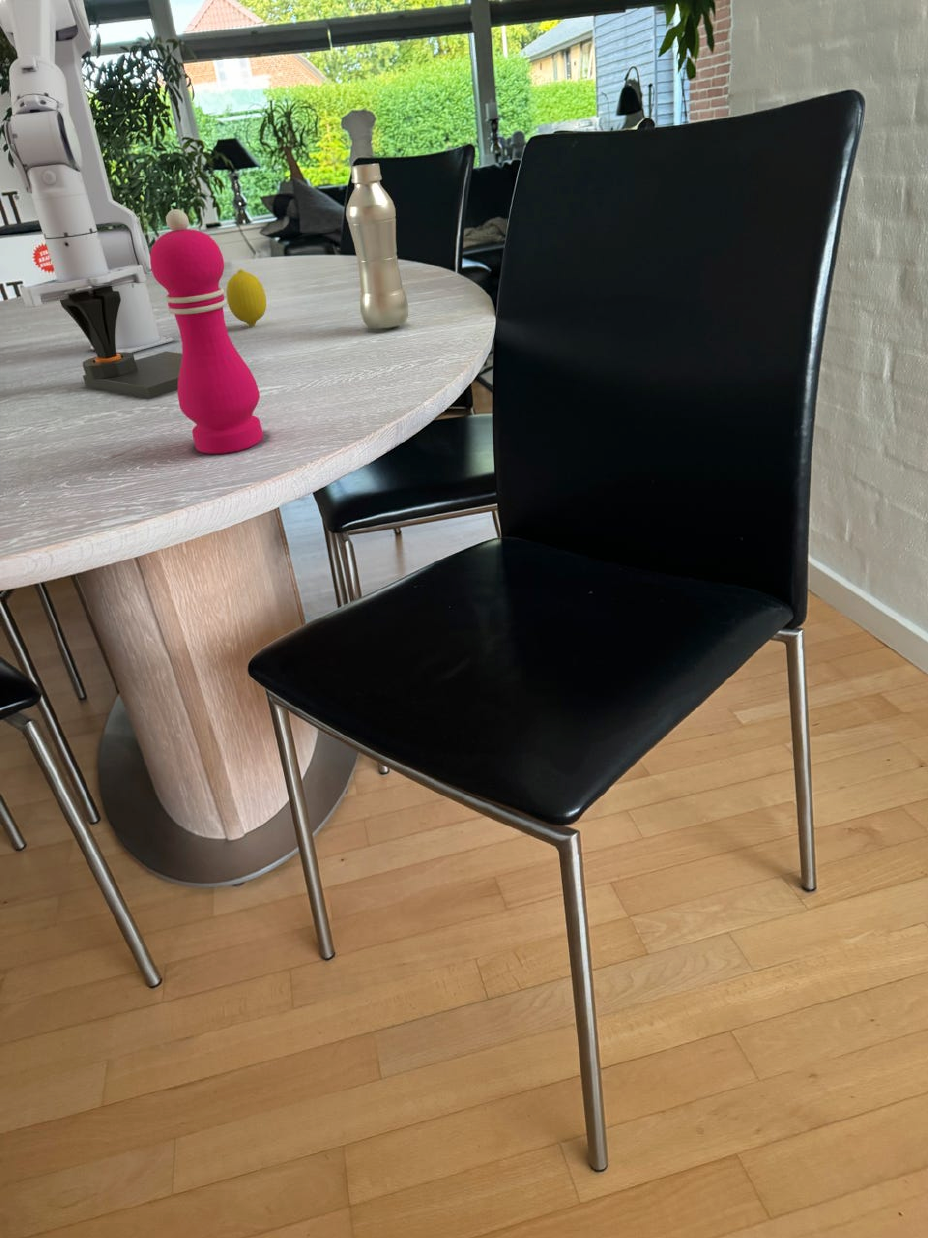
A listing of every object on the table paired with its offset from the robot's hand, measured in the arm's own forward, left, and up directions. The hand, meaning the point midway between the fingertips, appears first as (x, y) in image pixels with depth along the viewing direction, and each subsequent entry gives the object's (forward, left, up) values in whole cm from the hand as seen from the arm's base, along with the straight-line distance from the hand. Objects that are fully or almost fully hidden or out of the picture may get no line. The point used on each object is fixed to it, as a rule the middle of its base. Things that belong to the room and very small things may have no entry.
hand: (107, 356), depth 104 cm
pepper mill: (+33, -8, -3) cm, 35 cm away
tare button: (0, 0, -2) cm, 2 cm away
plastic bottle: (+14, +34, -3) cm, 37 cm away
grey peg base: (+4, +4, -3) cm, 7 cm away
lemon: (-9, +29, -3) cm, 30 cm away
